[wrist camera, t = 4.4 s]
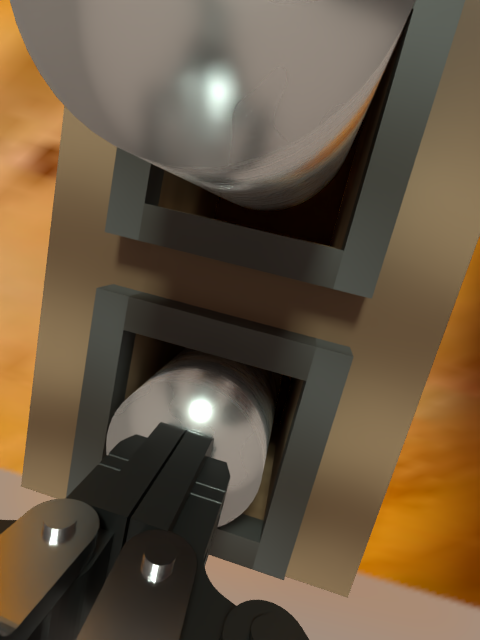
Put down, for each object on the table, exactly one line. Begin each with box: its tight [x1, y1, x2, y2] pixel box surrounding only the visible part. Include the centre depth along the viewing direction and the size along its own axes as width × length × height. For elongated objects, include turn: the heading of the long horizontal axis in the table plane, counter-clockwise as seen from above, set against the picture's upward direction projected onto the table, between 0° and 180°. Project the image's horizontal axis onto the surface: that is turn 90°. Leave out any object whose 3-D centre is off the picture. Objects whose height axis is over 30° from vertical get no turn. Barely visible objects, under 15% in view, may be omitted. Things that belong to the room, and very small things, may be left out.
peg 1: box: [10, 0, 415, 211], centre depth 7 cm, size 4×4×7 cm
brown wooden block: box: [21, 0, 480, 597], centre depth 15 cm, size 18×12×8 cm, turn 167°
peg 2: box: [106, 348, 281, 527], centre depth 14 cm, size 4×4×7 cm
